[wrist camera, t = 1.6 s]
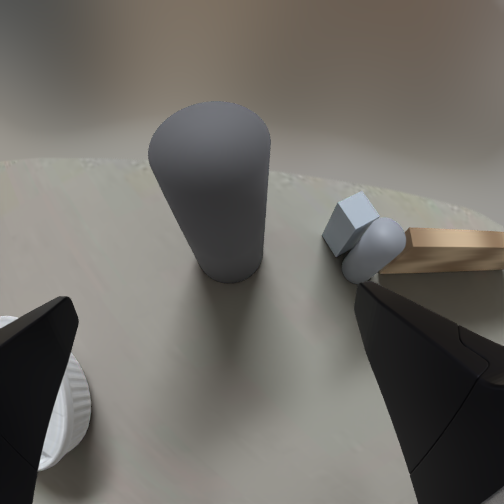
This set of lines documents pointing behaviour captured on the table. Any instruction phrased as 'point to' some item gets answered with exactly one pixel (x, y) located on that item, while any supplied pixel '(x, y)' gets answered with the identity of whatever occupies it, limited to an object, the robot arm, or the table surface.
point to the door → (448, 251)
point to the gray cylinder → (216, 184)
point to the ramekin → (65, 412)
